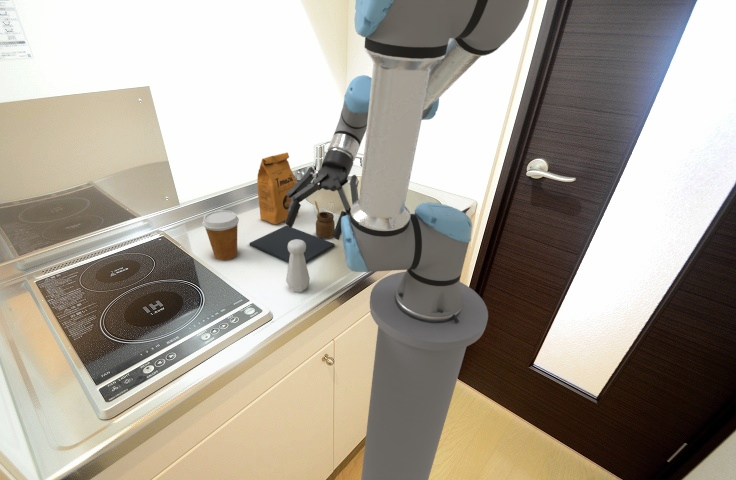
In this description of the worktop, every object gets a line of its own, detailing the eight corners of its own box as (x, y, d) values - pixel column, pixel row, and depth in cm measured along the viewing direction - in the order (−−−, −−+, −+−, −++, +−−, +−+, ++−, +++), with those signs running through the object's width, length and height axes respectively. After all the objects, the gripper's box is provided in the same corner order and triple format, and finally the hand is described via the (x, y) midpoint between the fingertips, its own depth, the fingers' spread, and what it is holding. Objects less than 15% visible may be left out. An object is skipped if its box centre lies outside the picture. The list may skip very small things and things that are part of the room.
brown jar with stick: (337, 237, 116) (338, 202, 110) (318, 240, 114) (318, 204, 107) (330, 229, 120) (330, 195, 114) (312, 232, 118) (312, 197, 112)
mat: (334, 246, 111) (334, 243, 110) (299, 268, 100) (299, 265, 99) (286, 227, 121) (286, 225, 120) (249, 245, 110) (249, 242, 109)
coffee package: (302, 217, 128) (301, 154, 117) (275, 228, 120) (270, 161, 109) (284, 209, 134) (281, 148, 122) (256, 219, 126) (250, 155, 115)
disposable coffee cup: (234, 265, 100) (229, 225, 94) (202, 261, 102) (194, 222, 95) (248, 248, 108) (243, 211, 102) (217, 245, 110) (211, 208, 103)
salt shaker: (283, 291, 90) (280, 245, 83) (291, 279, 95) (289, 234, 88) (305, 296, 89) (304, 249, 82) (312, 283, 94) (312, 238, 87)
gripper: (388, 172, 93) (360, 248, 89) (304, 157, 102) (276, 226, 99) (382, 155, 86) (352, 237, 83) (293, 141, 96) (263, 214, 92)
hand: (311, 231), depth 91 cm, fingers open, 13 cm apart
